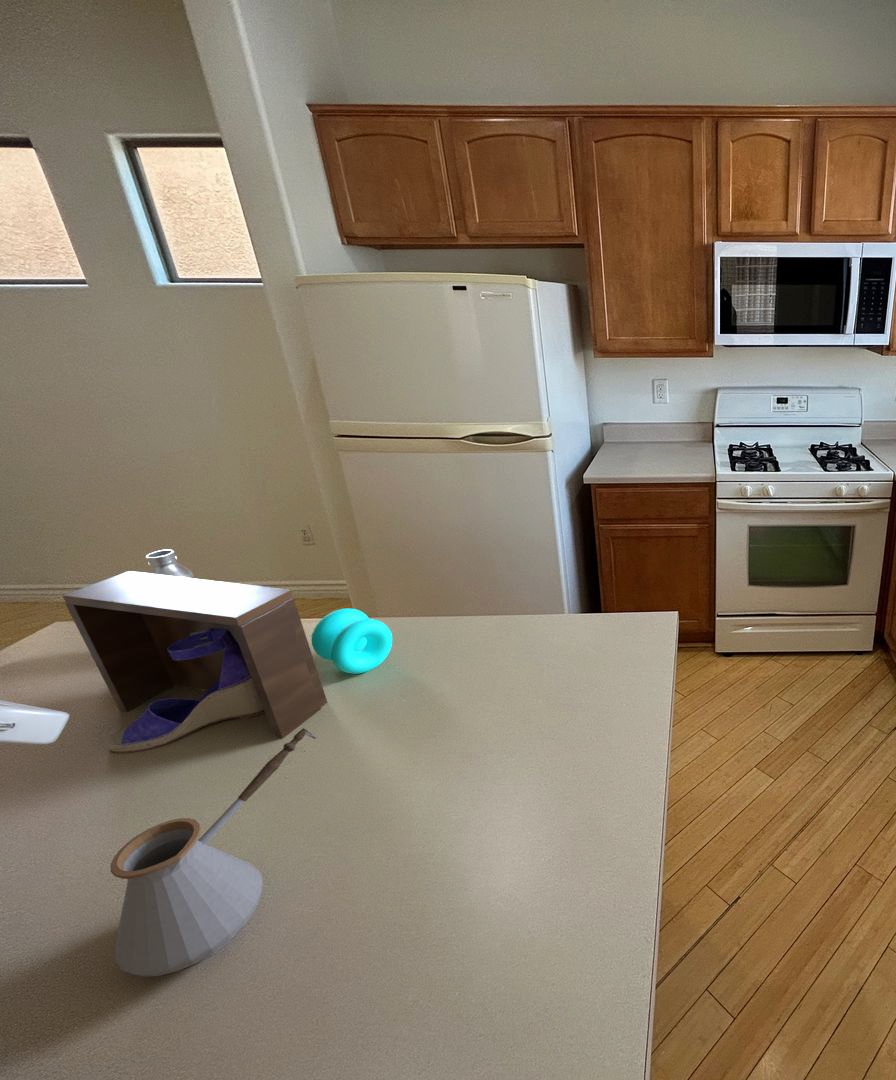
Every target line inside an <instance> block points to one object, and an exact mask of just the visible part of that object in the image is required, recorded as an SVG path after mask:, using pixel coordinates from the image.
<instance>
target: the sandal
mask: <svg viewBox="0 0 896 1080" xmlns="http://www.w3.org/2000/svg"><path fill="white" fill-rule="evenodd" d="M195 634H196V635H195ZM189 636H190V637H187V638H184V639H181V640H179V641H177V642H175V643H173V644H172V645H170V646H169V647H168V649H167V650H168V652H169V654H170V656H171V658H172V659H173V660H178V661H179V660H187V659H193V658H197V657H202V656H205V655H209V654H212V653H215V652H218V651H220V650H222V649H224V648H225V650H224V659H223V665H222V673H221V679H220V681H219V682H217V683H216V684H215V685H213V686H212V687H211V688H210V689H209V690H208V691H205V692H204V693H203V695H202V696H201V697H200V698H199V699H190V698H175V697H174V698H173V697H171V698H163V699H162V698H161V699H158V700H155V701H152V702H150V703H149V704H148V705H147V707H146V709H145V710H144V711H143V713H142V714H141V715H140V716H138V717H137V718H136V719H134V720H133V721H132V722H130V723H129V724H128V725H127V726H125V727H122V728H120V729H119V730H117V731H115V732H114V733H112V734H111V735H110V736H109V737H108V738H107V739H106V742H105V744H106V747H107V748H108V749H109V750H110V752H112V753H116V754H125V753H135V752H142V751H147V750H151V749H156V748H159V747H162V746H165V745H167V744H169V743H172V742H174V741H176V740H178V739H181V738H182V737H185V736H187V735H189V734H191V733H193V732H196V731H197V730H199V729H201V728H204V727H207V726H209V725H212V724H215V723H218V722H221V721H226V720H230V719H235V718H240V719H247V718H250V717H256V716H259V715H262V714H264V713H265V712H264V709H263V706H262V704H261V701H260V698H259V696H258V693H257V691H256V688H255V685H254V683H253V680H252V678H251V675H250V672H249V670H248V667H247V664H246V662H245V659H244V657H243V654H242V651H241V649H240V646H239V644H238V642H237V641H236V640H235V639H234V637H233V635H232V634H231V632H230V631H229V630H226V629H224V628H217V629H214V628H210V629H207V630H202V631H198V632H194V633H191V634H190V635H189ZM206 636H207V637H206ZM208 641H211V642H209V643H205V642H208ZM202 643H204V644H202ZM199 644H200V645H199ZM190 647H194V648H191V649H187V648H190ZM184 649H186V650H184Z"/></svg>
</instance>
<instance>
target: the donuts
mask: <svg viewBox="0 0 896 1080" xmlns="http://www.w3.org/2000/svg"><path fill="white" fill-rule="evenodd" d="M311 646H312V648H313V649H312V650H313V651H314V652H315V653H316V655H317V656H319V657H320V658H322V659H324V660H326V661H330V662H333V664H334V665H335V667H336V668H337V669H339V670H340V671H342V672H345V673H346V674H355V675H357V674H364V673H366V672H369V671H371V670H374V669H375V668H377V667H378V666H380V665H381V664H382V663H383V662H384V661H385V660H386V659H387V657H388V656H389V654H390V652H391V650H392V646H393V633H392V632H391V630H390V628H389V627H388V626H387V624H386V623H384V622H382V621H380V620H378V619H374V618H373V619H372V618H369V617H368V615H367V614H366V613H365V612H363V611H361V610H359V609H356V608H350V607H349V608H347V607H346V608H340V609H337V610H333V611H331V612H329V613H328V614H326V615H325V616H324V617H322V618H321V619H320V620H318V622H317V624H316V625H315V627H314V628H313V631H312V634H311Z"/></svg>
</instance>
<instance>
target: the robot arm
mask: <svg viewBox="0 0 896 1080" xmlns="http://www.w3.org/2000/svg"><path fill="white" fill-rule="evenodd" d="M69 719H70V714H69V713H68V712H66V711H62V710H56V709H52V708H51V709H50V708H46V707H40V706H39V707H38V706H35V705H29V704H23V703H19V702H13V701H7V700H2V699H0V743H3V744H4V743H6V744H18V745H19V744H20V745H21V744H23V745H40V746H41V745H51V744H53V743H55V742H56V741H57V740H58V738H59V737H60V735H61V734H62V732H63V730H64V728H65V727H66V725H67V723H68V720H69Z"/></svg>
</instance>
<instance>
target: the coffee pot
mask: <svg viewBox="0 0 896 1080" xmlns="http://www.w3.org/2000/svg"><path fill="white" fill-rule="evenodd" d="M305 736H308V737H309V738H312V739H315V740H317V739H318V738H319V737H318V736H317V735H316V734H314V733H312V732H310V731H308V729H306V728H304V727H303V728H301V729H300V730H299V731H298V732H297V733H295V735H294V736H293V738H292V739H291V740H290V741H288V742H286V743H284V744H283V749H281V750H280V751H279V752H278V753H277V754H276V755H274V756H273V758H271V759H270V760H268V761H267V762H266V763H265V765H264V766H263V767H262V768H261V769H260V771H258V773H257V774H256V775H255V776H254V777H253V779H252V780H251V781H250V783H249V784H248V785H247V786H246V787H245V788H244V789H243V790H242V791H241V793H240V794H239V795H238V796H237V799H236V800H235V801H234V802H233V803H232V804H231V805H230V806H229V807H228V808H227V809H226V810H225V811H224V813H222V814H221V815H220V817H218V819H217V820H215V822H214V823H213V824H211V826H209V828H208V829H207V830H206V831H205V832H204V833H203V834H202V835H201V833H202V825H201V823H200V822H199V821H198V820H197V819H194V818H190V817H181V818H175V819H171V820H166V821H164V822H161V823H158V824H156V825H154V826H153V827H149V828H148V829H146V830H144V831H142V832H140V833H139V834H137V835H136V836H135V837H133V838H131V839H130V840H129V841H128V842H126V843H125V844H124V845H123V846H122V847H121V848H120V849H119V850H118V851H117V852H116V854H115V855H114V856H113V858H112V860H111V863H110V873H111V875H113V876H114V877H115V878H119V879H122V880H127V883H126V888H125V892H124V893H125V894H124V898H123V899H124V900H123V902H122V903H123V904H122V909H121V914H120V920H119V925H118V928H117V929H118V930H117V933H116V934H117V935H116V940H115V945H114V958H115V959H114V960H115V963H116V964H117V966H118V967H119V969H121V970H122V972H125V973H127V974H131V975H134V976H137V977H160V976H165V975H168V974H172V973H175V972H179V971H181V970H184V969H185V968H190V967H192V966H194V965H196V964H199V963H200V962H203V961H205V960H206V959H208V958H209V957H210V956H213V955H214V954H216V953H217V952H218V951H219V950H221V949H222V948H223V947H225V946H226V945H227V944H228V943H229V942H231V940H233V938H234V937H235V936H236V935H237V934H238V933H239V932H240V930H241V929H242V928H243V927H244V926H245V925H246V923H247V922H248V921H249V919H250V918H251V917H252V916H253V914H254V913H255V910H256V908H257V906H258V904H259V902H260V900H261V895H262V891H263V884H264V879H263V876H262V873H261V871H260V870H259V869H258V868H257V867H255V865H253V864H252V863H251V862H247V861H245V860H244V859H241V858H239V857H236V856H234V855H232V854H229V853H227V852H225V851H223V850H220V849H218V848H217V847H214V846H211V845H210V844H209V843H210V842H211V841H212V840H213V839H214V837H215V836H216V835H217V834H218V833H219V832H220V830H222V828H223V827H224V826H225V825H226V823H228V821H229V820H230V819H231V818H232V817H233V816H234V814H235V813H236V812H237V811H238V810H239V809H240V808H241V806H242V805H243V804H244V803H245V802H247V801H248V800H249V798H251V797H252V795H254V793H255V792H257V790H259V789H260V787H261V786H262V785H263V784H264V783H265V782H267V780H268V779H269V778H270V777H271V776H272V775H273V774H274V773H275V772H277V770H278V769H279V767H280V766H281V765H282V763H283V762H284V760H285V759H286V757H287V756H288V755H289V753H291V752H293V751H295V750H296V745H297V744H298V743H299V742H300V741H301V740H303V739H304V738H305ZM200 836H201V837H200Z"/></svg>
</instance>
